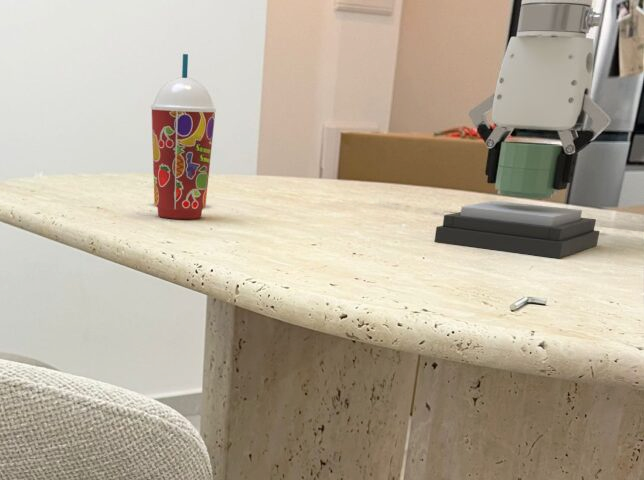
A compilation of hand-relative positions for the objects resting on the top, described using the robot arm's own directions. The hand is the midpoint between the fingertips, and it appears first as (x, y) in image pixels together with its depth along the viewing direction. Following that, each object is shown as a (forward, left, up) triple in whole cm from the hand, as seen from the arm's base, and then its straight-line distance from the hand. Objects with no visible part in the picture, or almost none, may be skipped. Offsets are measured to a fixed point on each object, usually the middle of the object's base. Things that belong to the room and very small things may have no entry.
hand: (526, 184), depth 113 cm
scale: (0, 0, -7) cm, 7 cm away
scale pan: (0, 0, -4) cm, 4 cm away
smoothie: (+16, -40, -7) cm, 44 cm away
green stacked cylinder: (0, 0, -1) cm, 1 cm away
